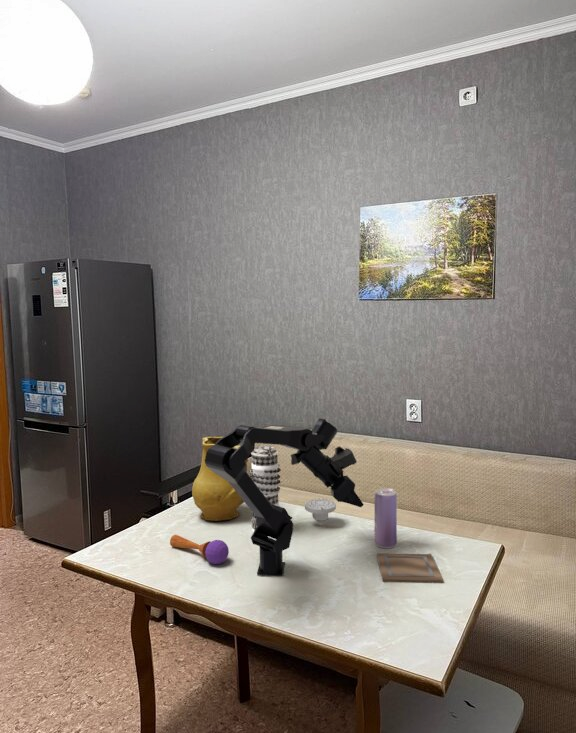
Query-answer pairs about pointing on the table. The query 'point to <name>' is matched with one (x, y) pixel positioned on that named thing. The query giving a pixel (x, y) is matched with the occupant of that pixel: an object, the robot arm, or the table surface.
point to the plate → (408, 568)
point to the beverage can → (385, 518)
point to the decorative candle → (265, 475)
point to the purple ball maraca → (204, 548)
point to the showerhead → (320, 509)
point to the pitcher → (214, 490)
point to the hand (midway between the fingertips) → (357, 500)
